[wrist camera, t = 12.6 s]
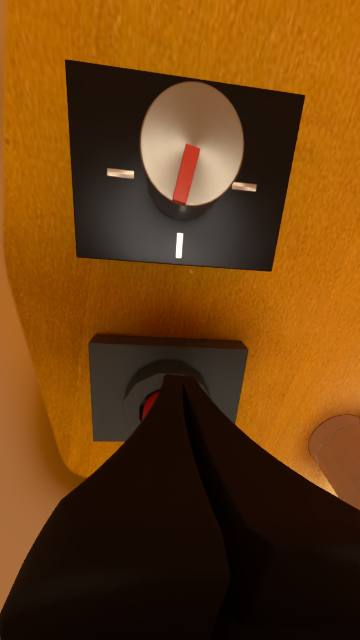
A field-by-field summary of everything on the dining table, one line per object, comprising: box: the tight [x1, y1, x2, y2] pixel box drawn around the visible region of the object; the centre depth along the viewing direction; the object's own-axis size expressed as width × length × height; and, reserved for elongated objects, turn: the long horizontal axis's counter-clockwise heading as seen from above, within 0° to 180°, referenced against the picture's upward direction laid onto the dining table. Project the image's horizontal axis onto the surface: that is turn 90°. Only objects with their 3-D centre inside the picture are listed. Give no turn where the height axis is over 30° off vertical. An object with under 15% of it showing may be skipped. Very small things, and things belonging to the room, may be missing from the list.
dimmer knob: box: [139, 81, 244, 220], centre depth 10 cm, size 4×4×4 cm
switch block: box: [89, 335, 248, 441], centre depth 18 cm, size 12×9×4 cm
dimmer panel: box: [65, 60, 305, 272], centre depth 13 cm, size 12×9×3 cm
